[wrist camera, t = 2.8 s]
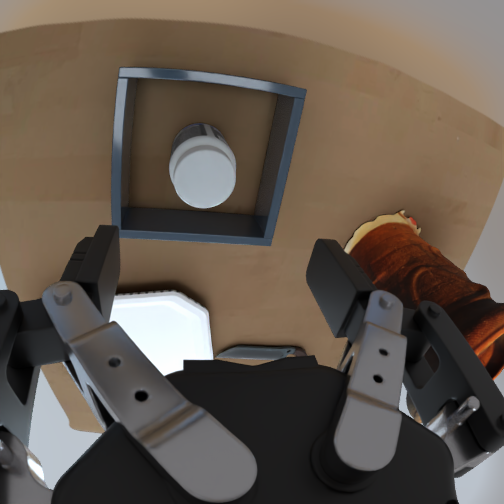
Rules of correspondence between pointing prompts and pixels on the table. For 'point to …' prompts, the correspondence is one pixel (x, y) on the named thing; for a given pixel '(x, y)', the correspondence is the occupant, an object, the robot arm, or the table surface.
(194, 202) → the pill bottle
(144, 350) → the plate
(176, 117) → the table surface
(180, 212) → the square frame
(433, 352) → the vessel
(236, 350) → the knife
